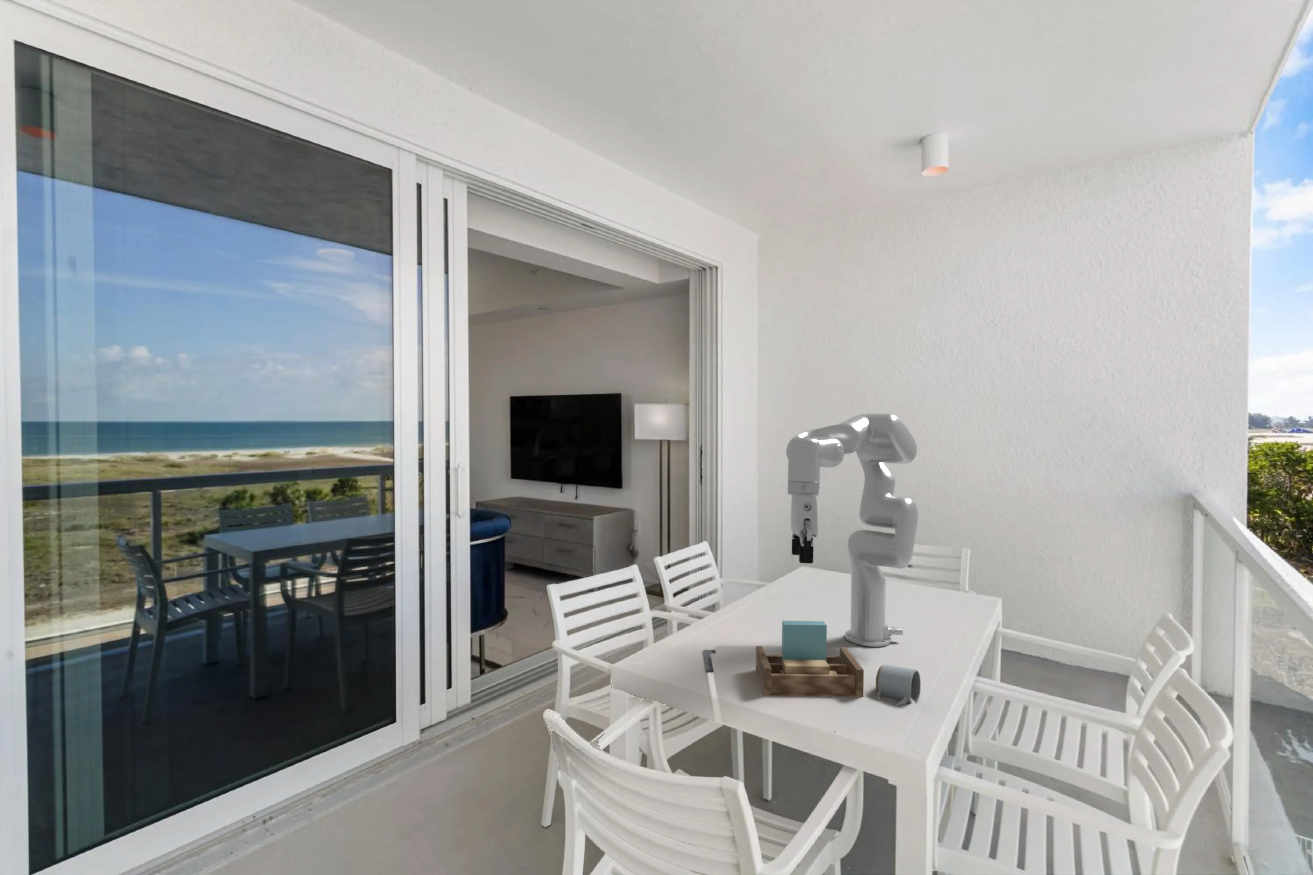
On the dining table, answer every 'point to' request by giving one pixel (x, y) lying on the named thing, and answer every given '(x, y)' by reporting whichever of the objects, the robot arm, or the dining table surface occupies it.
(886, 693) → the ceramic mug
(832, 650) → the dining table surface
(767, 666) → the walnut rack
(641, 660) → the dining table surface
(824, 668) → the oak offcuts
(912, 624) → the dining table surface
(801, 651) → the teal rectangular block
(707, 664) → the gray l-shaped bracket
